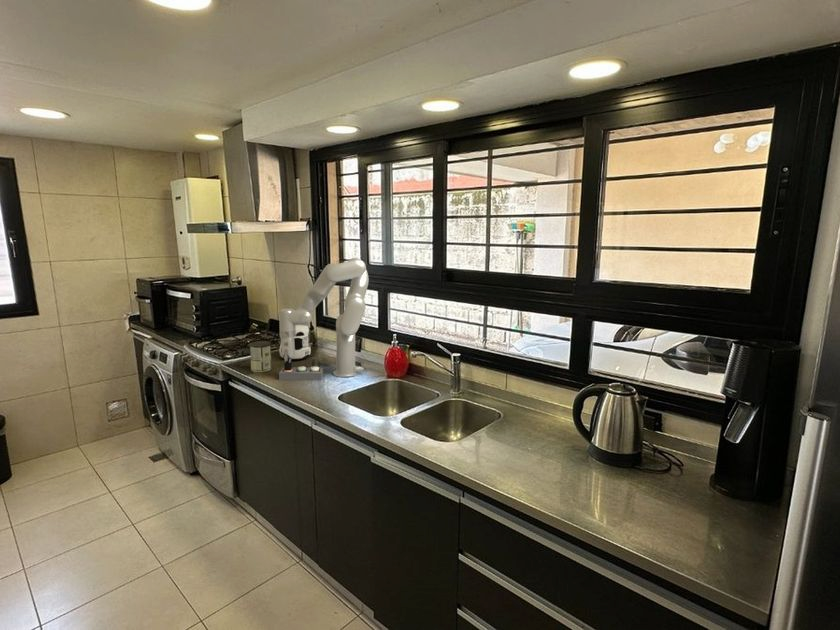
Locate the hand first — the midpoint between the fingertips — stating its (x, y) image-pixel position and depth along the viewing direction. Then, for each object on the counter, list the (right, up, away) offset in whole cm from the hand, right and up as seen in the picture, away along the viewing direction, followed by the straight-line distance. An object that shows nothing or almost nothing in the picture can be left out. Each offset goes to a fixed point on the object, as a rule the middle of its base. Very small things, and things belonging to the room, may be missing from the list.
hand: (288, 369), depth 215 cm
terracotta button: (0, -2, 0) cm, 2 cm away
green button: (+7, -1, +1) cm, 7 cm away
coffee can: (-18, -1, +11) cm, 21 cm away
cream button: (+13, -1, +2) cm, 13 cm away
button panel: (+6, -4, +1) cm, 8 cm away
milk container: (-6, +2, +35) cm, 35 cm away
